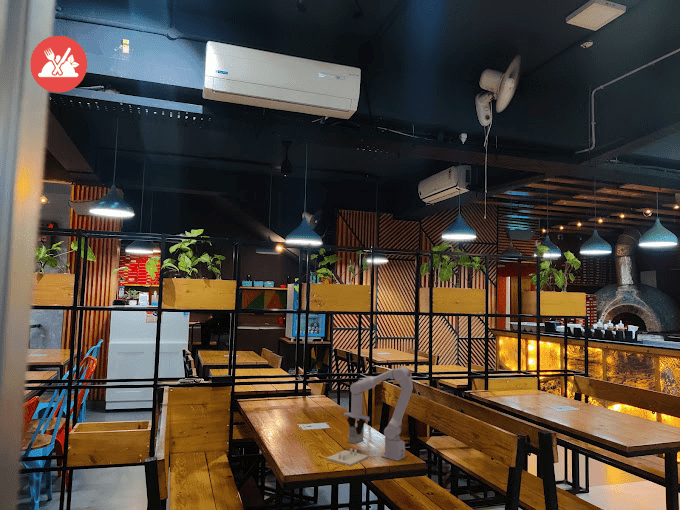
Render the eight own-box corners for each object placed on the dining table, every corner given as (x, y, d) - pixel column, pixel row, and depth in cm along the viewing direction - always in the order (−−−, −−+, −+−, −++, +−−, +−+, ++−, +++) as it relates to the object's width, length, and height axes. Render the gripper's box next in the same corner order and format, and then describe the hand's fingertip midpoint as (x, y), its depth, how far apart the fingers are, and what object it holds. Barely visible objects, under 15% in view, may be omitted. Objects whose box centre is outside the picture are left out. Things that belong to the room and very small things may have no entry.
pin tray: (368, 457, 244) (368, 450, 245) (350, 466, 231) (350, 458, 232) (345, 452, 253) (345, 444, 253) (326, 460, 239) (326, 452, 240)
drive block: (362, 435, 257) (362, 425, 258) (355, 438, 252) (355, 427, 252) (356, 434, 259) (357, 423, 260) (349, 436, 254) (349, 426, 254)
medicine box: (357, 439, 276) (357, 423, 277) (363, 440, 273) (363, 424, 274) (348, 442, 270) (348, 425, 270) (354, 444, 267) (355, 427, 268)
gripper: (340, 405, 258) (339, 432, 256) (364, 409, 249) (363, 437, 248) (348, 403, 263) (347, 429, 262) (371, 407, 255) (371, 434, 254)
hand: (356, 433), depth 256 cm, fingers closed on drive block, 3 cm apart
